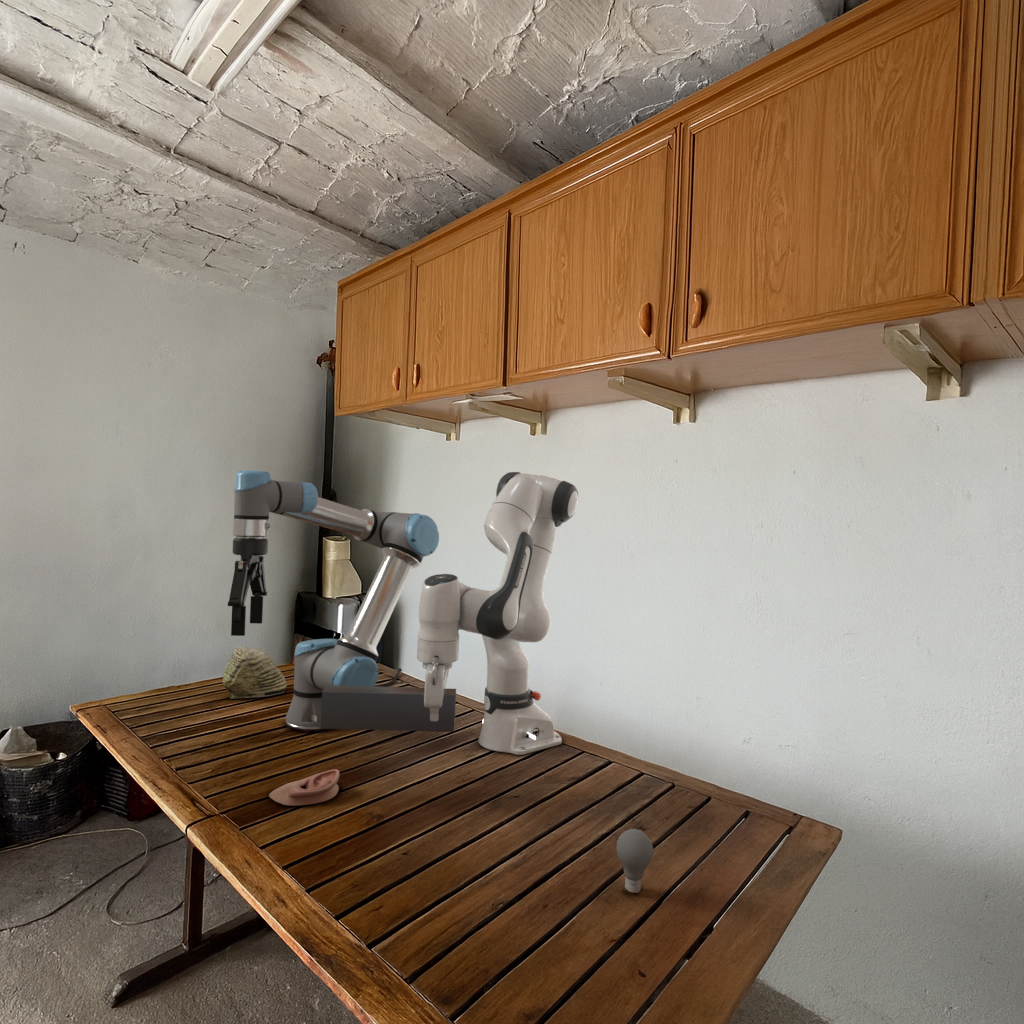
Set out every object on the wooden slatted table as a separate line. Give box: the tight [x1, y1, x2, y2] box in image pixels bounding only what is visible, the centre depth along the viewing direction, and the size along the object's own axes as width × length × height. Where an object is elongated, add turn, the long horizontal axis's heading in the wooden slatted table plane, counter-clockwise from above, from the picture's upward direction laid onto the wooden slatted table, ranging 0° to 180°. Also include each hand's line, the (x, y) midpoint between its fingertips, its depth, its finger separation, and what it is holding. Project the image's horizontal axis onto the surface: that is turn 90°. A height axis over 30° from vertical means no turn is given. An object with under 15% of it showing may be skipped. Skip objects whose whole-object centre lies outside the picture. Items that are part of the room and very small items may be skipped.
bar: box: [321, 685, 457, 733], centre depth 135 cm, size 28×5×8 cm, turn 93°
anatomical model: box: [268, 768, 340, 807], centre depth 134 cm, size 13×4×12 cm
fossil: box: [222, 646, 288, 699], centre depth 198 cm, size 9×18×15 cm, turn 132°
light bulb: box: [615, 828, 654, 894], centre depth 106 cm, size 6×6×10 cm
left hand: (247, 629), depth 146 cm, fingers open, 13 cm apart
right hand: (435, 715), depth 136 cm, fingers closed on bar, 4 cm apart
